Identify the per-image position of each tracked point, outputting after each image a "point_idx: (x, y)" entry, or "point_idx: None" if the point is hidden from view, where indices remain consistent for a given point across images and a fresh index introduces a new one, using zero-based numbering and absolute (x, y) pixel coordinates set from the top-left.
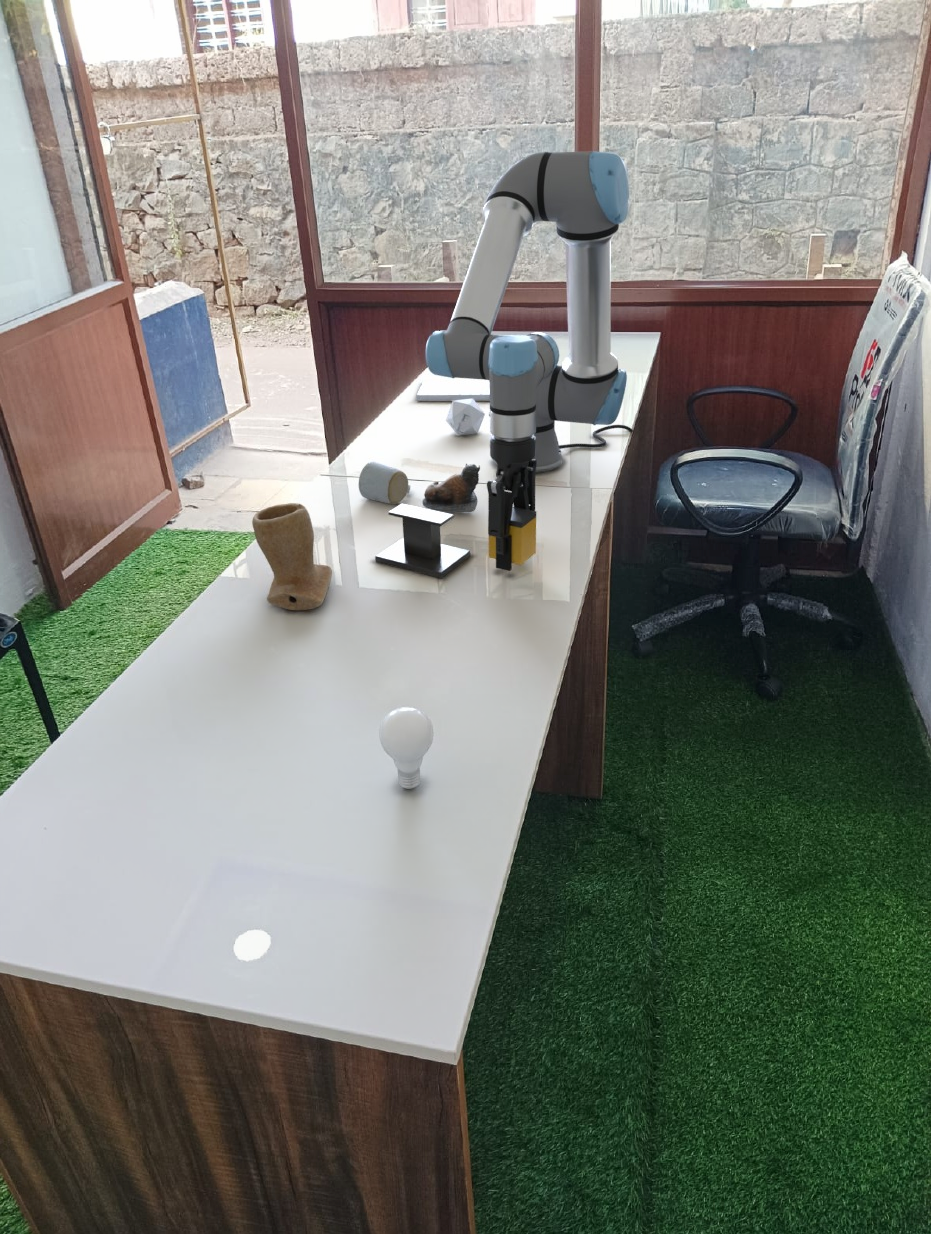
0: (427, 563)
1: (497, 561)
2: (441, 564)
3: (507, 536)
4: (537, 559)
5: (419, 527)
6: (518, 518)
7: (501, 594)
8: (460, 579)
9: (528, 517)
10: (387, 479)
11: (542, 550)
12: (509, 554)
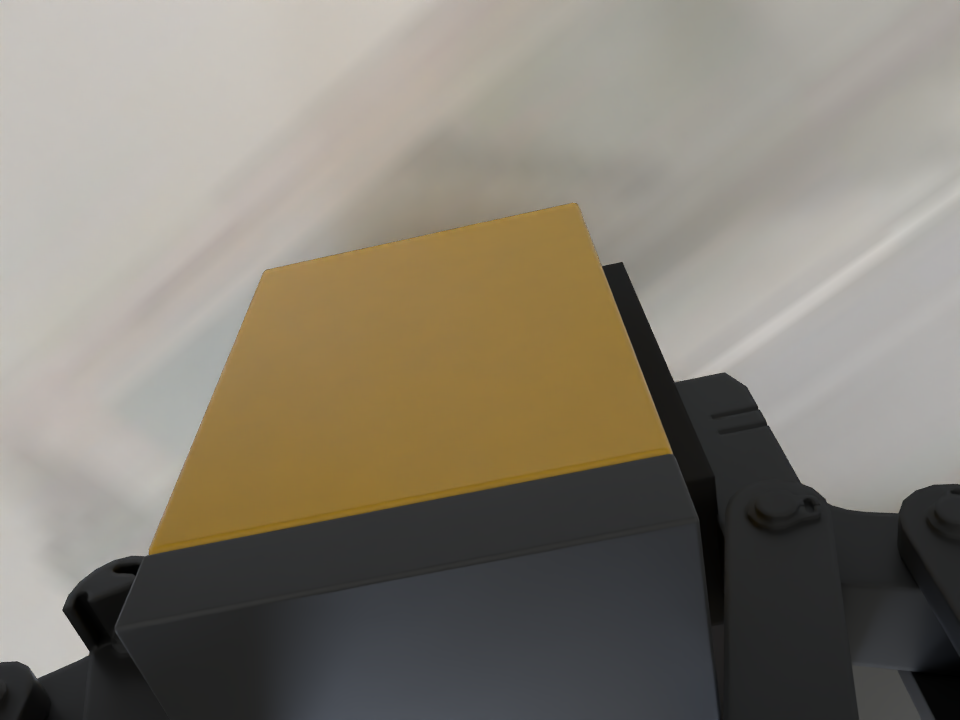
0: (860, 700)
1: None
2: None
3: (762, 490)
4: (195, 271)
5: None
6: (579, 644)
7: (946, 70)
8: (861, 462)
9: (427, 571)
10: None
11: (38, 347)
12: (657, 347)
